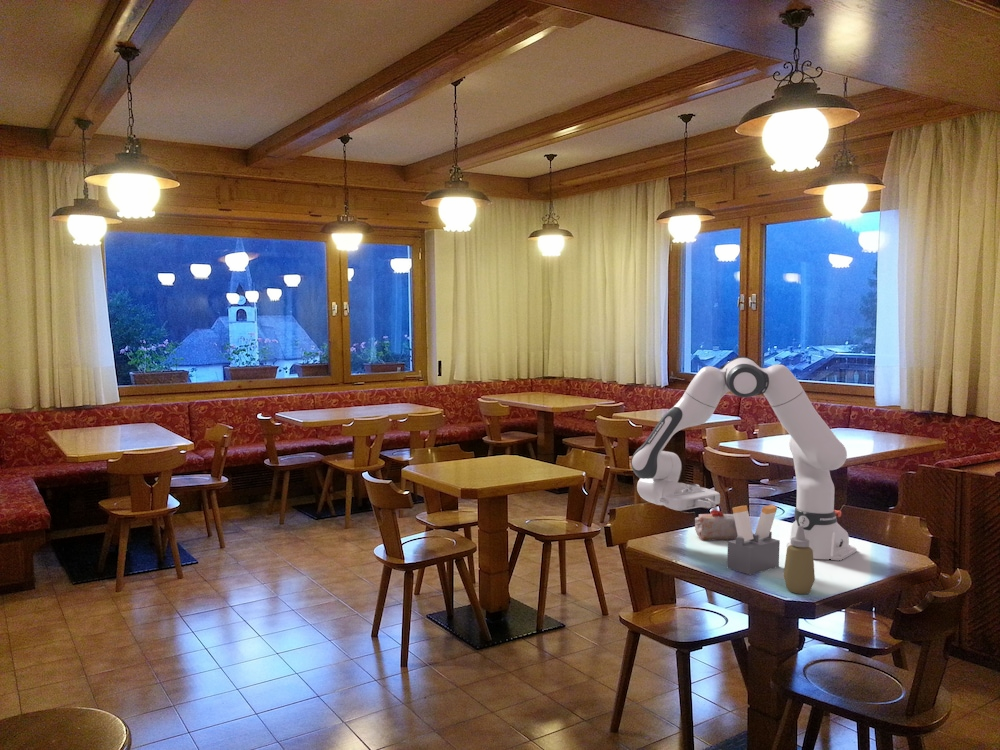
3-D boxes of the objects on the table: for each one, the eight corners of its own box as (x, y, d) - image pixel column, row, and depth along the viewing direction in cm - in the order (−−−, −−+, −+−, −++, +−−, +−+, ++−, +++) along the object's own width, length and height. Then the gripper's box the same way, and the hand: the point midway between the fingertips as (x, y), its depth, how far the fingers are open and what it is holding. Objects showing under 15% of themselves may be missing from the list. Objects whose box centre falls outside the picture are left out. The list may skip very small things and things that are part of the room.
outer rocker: (748, 539, 229) (741, 505, 231) (753, 538, 228) (746, 505, 229) (738, 541, 226) (732, 507, 228) (743, 541, 225) (736, 507, 227)
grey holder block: (756, 559, 237) (757, 528, 236) (778, 566, 230) (779, 533, 230) (727, 567, 229) (727, 534, 228) (749, 574, 222) (750, 541, 222)
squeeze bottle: (819, 590, 209) (821, 526, 208) (807, 598, 204) (809, 531, 202) (789, 583, 215) (791, 520, 214) (778, 590, 209) (779, 526, 208)
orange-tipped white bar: (763, 533, 233) (772, 504, 230) (768, 536, 232) (777, 507, 229) (754, 536, 230) (762, 506, 228) (759, 539, 229) (767, 509, 226)
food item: (698, 541, 257) (699, 512, 256) (693, 535, 265) (694, 507, 264) (739, 542, 256) (740, 513, 256) (733, 535, 264) (734, 507, 264)
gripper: (656, 490, 242) (690, 498, 231) (699, 483, 254) (733, 491, 242) (655, 509, 242) (689, 519, 231) (698, 502, 254) (733, 511, 243)
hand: (712, 505), depth 237 cm, fingers closed
